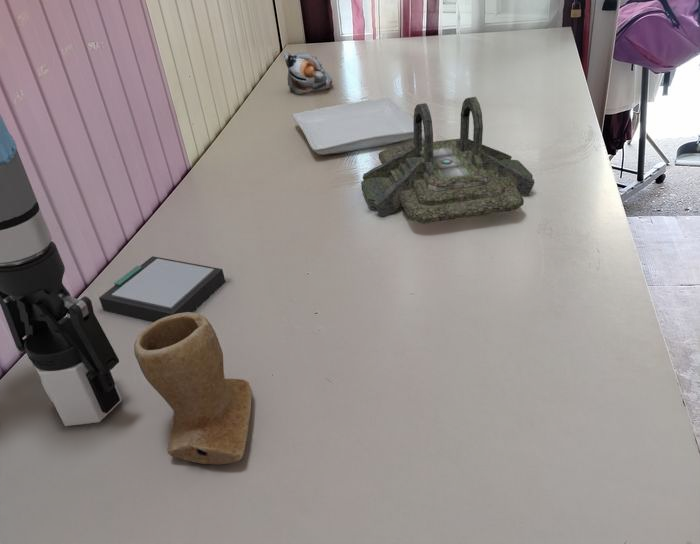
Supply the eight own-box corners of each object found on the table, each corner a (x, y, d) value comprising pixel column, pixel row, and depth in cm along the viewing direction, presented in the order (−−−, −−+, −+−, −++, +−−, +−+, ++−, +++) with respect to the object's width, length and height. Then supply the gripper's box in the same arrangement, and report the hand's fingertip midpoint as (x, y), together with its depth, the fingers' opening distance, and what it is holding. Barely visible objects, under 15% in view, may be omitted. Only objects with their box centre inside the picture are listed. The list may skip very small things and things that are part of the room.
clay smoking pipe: (173, 391, 87) (143, 300, 78) (258, 385, 87) (238, 293, 78) (147, 476, 76) (107, 381, 66) (246, 469, 75) (220, 373, 66)
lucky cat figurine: (341, 85, 195) (336, 48, 182) (318, 111, 192) (311, 75, 179) (303, 66, 199) (295, 28, 186) (279, 91, 196) (270, 55, 183)
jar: (51, 400, 88) (16, 331, 80) (108, 376, 91) (79, 307, 84) (68, 437, 82) (32, 366, 74) (129, 409, 85) (100, 338, 78)
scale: (102, 310, 105) (97, 295, 103) (155, 267, 115) (151, 253, 113) (176, 327, 100) (171, 312, 98) (225, 281, 109) (221, 266, 108)
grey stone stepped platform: (559, 217, 118) (573, 119, 107) (382, 243, 116) (377, 145, 104) (496, 150, 145) (502, 66, 134) (352, 169, 143) (345, 86, 132)
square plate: (292, 127, 169) (290, 112, 166) (390, 110, 173) (389, 95, 171) (314, 163, 148) (312, 146, 145) (425, 143, 152) (425, 127, 150)
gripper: (112, 247, 71) (165, 398, 85) (-17, 223, 78) (51, 365, 92) (63, 282, 65) (128, 436, 79) (-71, 253, 73) (10, 399, 87)
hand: (86, 398), depth 86 cm, fingers closed on jar, 8 cm apart
